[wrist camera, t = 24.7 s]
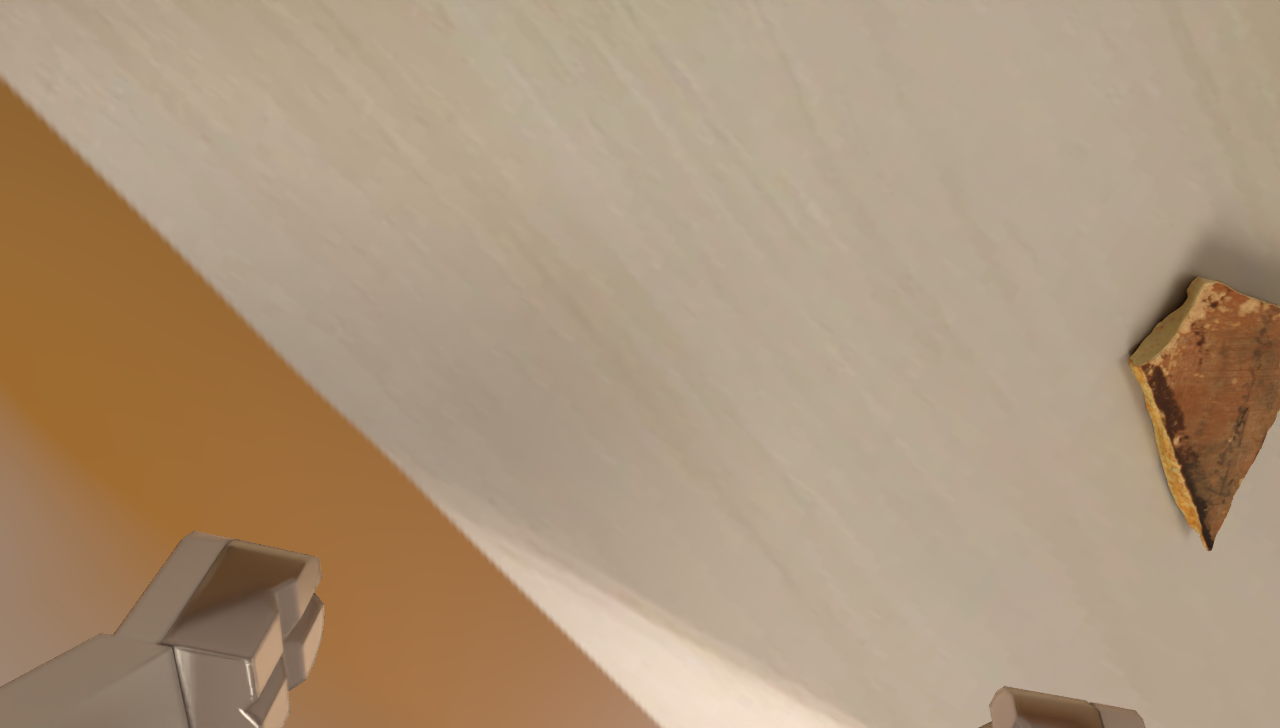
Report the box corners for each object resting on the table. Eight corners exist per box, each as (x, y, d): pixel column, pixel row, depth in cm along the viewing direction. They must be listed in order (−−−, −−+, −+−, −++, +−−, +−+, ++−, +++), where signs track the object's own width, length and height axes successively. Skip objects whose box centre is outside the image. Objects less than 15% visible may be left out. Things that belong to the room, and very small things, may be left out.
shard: (1185, 537, 46) (1216, 555, 44) (1053, 501, 44) (1080, 519, 42) (1293, 313, 44) (1329, 323, 42) (1160, 262, 42) (1194, 270, 40)
